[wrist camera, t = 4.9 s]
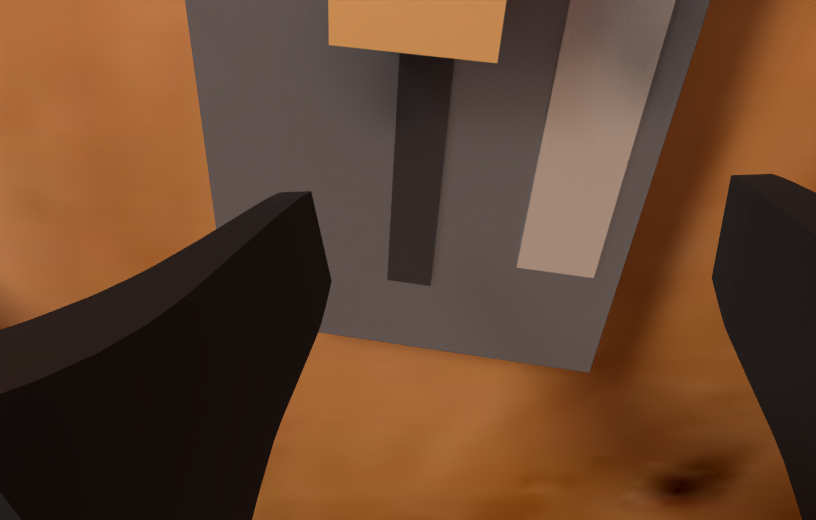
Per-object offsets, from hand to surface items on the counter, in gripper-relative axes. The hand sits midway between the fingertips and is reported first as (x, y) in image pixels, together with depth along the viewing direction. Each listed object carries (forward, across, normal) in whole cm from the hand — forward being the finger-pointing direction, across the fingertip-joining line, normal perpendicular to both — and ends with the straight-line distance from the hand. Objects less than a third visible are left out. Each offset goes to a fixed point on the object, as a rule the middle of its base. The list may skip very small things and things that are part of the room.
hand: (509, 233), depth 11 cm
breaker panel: (+7, +2, 0) cm, 8 cm away
